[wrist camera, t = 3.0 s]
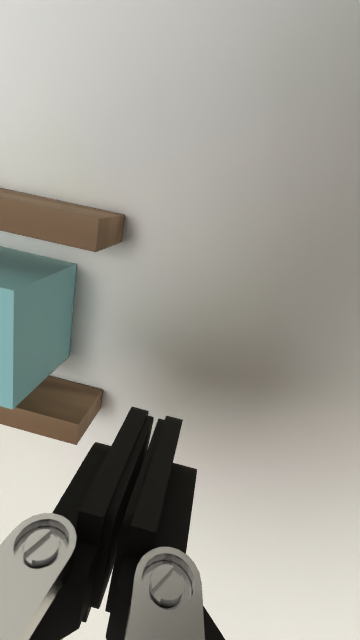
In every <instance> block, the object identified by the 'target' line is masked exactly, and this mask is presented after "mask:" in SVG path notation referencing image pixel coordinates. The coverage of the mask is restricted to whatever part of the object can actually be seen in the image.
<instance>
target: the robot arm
mask: <svg viewBox="0 0 360 640" xmlns="http://www.w3.org/2000/svg"><path fill="white" fill-rule="evenodd" d="M153 419H154V417H151V416H148V411H146V410H142V409H138V408H135V407H131V409H130V411H129V413H128V415H127V417H126V419H125V421H124V423H123V425H122V427H121V429H120V430H119V432H118V434H117V436H116V438H115V440H114V442H113V444H112V446H109V445H105V444H101V443H97V442H96V443H94V444H93V446H92V447H91V449H90V451H89V452H88V454H87V456H86V457H85V459H84V461H83V462H82V464H81V466H80V467H79V469H78V471H77V473H76V474H75V476H74V478H73V479H72V481H71V483H70V484H69V486H68V488H67V489H66V491H65V493H64V494H63V496H62V498H61V499H60V501H59V503H58V504H57V506H56V508H55V510H54V511H53V513H43V514H39V515H35V516H32V517H30V518H28V519H26V520H25V521H23V522H22V523H21V524H19V525H18V526H17V527H16V528H15V529H14V530H13V531H12V532H11V533H10V534H9V536H8V537H7V538H6V539H5V540H4V541H3V542H2V544H1V545H0V640H63V638H64V637H66V636H67V635H69V634H71V633H72V632H74V631H75V630H77V629H79V627H80V624H81V621H82V622H86V621H87V618H88V615H89V612H90V609H91V607H94V608H97V609H99V607H100V605H101V602H102V599H103V596H104V593H105V590H106V587H107V584H108V581H109V578H110V575H111V572H112V569H113V572H112V578H111V583H110V588H109V594H108V599H107V604H106V610H105V611H107V612H110V617H109V622H108V627H107V632H106V639H107V640H225V639H224V637H223V635H222V634H221V632H220V631H219V629H218V628H217V626H216V625H215V623H214V622H213V620H212V618H211V617H210V615H209V614H208V612H207V611H206V609H205V608H204V606H203V598H202V583H201V578H200V573H199V571H198V569H197V567H196V565H195V563H194V562H193V561H192V560H191V559H190V558H189V556H188V555H186V548H187V541H188V533H189V526H190V519H191V511H192V504H193V496H194V489H195V482H196V474H197V469H194V468H190V467H186V466H183V465H179V464H175V463H173V459H174V454H175V450H176V446H177V442H178V438H179V433H180V429H181V425H182V421H183V420H181V419H177V418H173V417H169V416H166V418H165V420H162V419H158V422H157V424H156V427H155V430H154V433H153V436H152V439H151V441H150V444H149V439H150V434H151V429H152V424H153ZM148 444H149V447H148ZM147 449H148V450H147ZM113 566H114V567H113Z"/></svg>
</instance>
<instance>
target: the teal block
mask: <svg viewBox="0 0 360 640" xmlns="http://www.w3.org/2000/svg"><path fill="white" fill-rule="evenodd" d="M76 266H77V264H74V263H70V262H65V261H61V260H57V259H52V258H48V257H44V256H39V255H35V254H31V253H27V252H22V251H18V250H14V249H9V248H5V247H1V246H0V406H2V407H5V408H9V409H14V408H15V407H16V406H17V405H18V404H19V403H20V402H21V401H22V400H23V399H24V398H25V397H26V396H27V395H29V394H30V393H31V392H32V391H33V390H34V389H35V388H36V387H37V386H38V385H39V384H40V383H41V382H42V381H43V380H44V379H45V378H47V377H48V376H49V375H50V374H51V373H52V372H53V371H54V370H55V369H56V368H57V367H58V366H59V365H60V364H61V363H62V362H63V361H64V360H66V359H67V358H68V357H69V353H70V340H71V328H72V315H73V303H74V291H75V278H76Z"/></svg>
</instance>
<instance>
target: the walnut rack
mask: <svg viewBox="0 0 360 640" xmlns="http://www.w3.org/2000/svg"><path fill="white" fill-rule="evenodd" d="M124 217H125V215H123V214H119V213H114V212H110V211H105V210H100V209H96V208H91V207H86V206H82V205H77V204H73V203H68V202H63V201H59V200H54V199H49V198H45V197H40V196H36V195H31V194H26V193H22V192H17V191H12V190H8V189H3V188H0V230H1V231H6V232H10V233H14V234H19V235H23V236H28V237H32V238H36V239H41V240H45V241H50V242H54V243H58V244H63V245H67V246H72V247H76V248H80V249H85V250H89V251H94V252H97V251H99V250H102V249H105V248H107V247H110V246H112V245H115V244H117V243H120V242H121V241H122V233H123V225H124ZM102 392H103V390H101V389H98V388H94V387H90V386H86V385H82V384H79V383H75V382H71V381H67V380H63V379H59V378H56V377H52V376H48V377H47V378H45V379H44V380H43V381H42V382H41V383H40V384H39V385H38V386H37V387H36V388H35V389H34V390H33V391H32V392H31V393H30V394H29V395H27V396H26V397H25V398H24V399H23V400H22V401H21V402H20V403H19V404H18V405H17V406H16V407H15V408H14V409H9V408H5V407H2V406H0V424H3V425H6V426H10V427H14V428H17V429H21V430H24V431H28V432H32V433H35V434H39V435H42V436H46V437H50V438H53V439H57V440H60V441H64V442H68V443H71V444H75V445H77V443H78V442H79V440H80V439H81V437H82V436H83V434H84V433H85V431H86V430H87V428H88V427H89V425H90V424H91V422H92V420H93V419H94V417H95V416H96V414H97V413H98V411H99V410H100V408H101V400H102Z"/></svg>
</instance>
